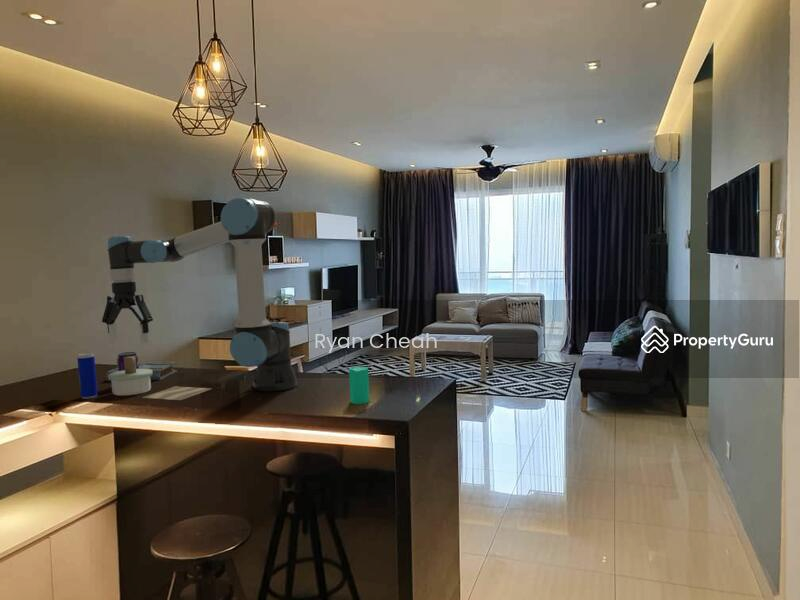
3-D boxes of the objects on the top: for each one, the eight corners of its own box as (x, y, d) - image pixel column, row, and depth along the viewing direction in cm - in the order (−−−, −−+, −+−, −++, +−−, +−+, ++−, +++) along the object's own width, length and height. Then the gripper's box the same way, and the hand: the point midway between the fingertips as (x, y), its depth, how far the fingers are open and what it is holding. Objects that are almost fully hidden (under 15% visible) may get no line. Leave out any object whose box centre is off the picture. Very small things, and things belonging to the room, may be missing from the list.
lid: (161, 372, 212) (160, 354, 212) (131, 381, 199) (129, 361, 199) (130, 371, 217) (129, 353, 217) (99, 379, 204) (97, 360, 203)
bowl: (158, 389, 212) (157, 373, 212) (132, 398, 201) (131, 380, 201) (131, 388, 216) (130, 371, 216) (105, 396, 205) (103, 379, 205)
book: (106, 382, 230) (105, 370, 229) (128, 373, 246) (127, 361, 246) (159, 381, 229) (158, 368, 228) (177, 372, 245) (177, 360, 245)
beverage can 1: (84, 395, 208) (81, 353, 206) (100, 394, 208) (96, 352, 207) (78, 399, 202) (74, 355, 201) (93, 398, 203) (90, 354, 201)
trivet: (212, 390, 208) (212, 388, 208) (180, 402, 193) (180, 400, 193) (175, 388, 213) (175, 386, 213) (141, 399, 198) (141, 397, 198)
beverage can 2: (132, 387, 218) (129, 355, 217) (114, 387, 219) (112, 355, 218) (144, 383, 225) (141, 351, 224) (127, 382, 226) (124, 351, 225)
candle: (346, 402, 185) (344, 364, 184) (358, 398, 190) (356, 360, 189) (361, 404, 182) (360, 365, 181) (373, 400, 187) (371, 362, 186)
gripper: (160, 279, 204) (165, 340, 206) (104, 281, 213) (110, 340, 215) (143, 280, 197) (149, 344, 199) (86, 283, 206) (93, 344, 208)
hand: (129, 342), depth 207 cm, fingers open, 13 cm apart
